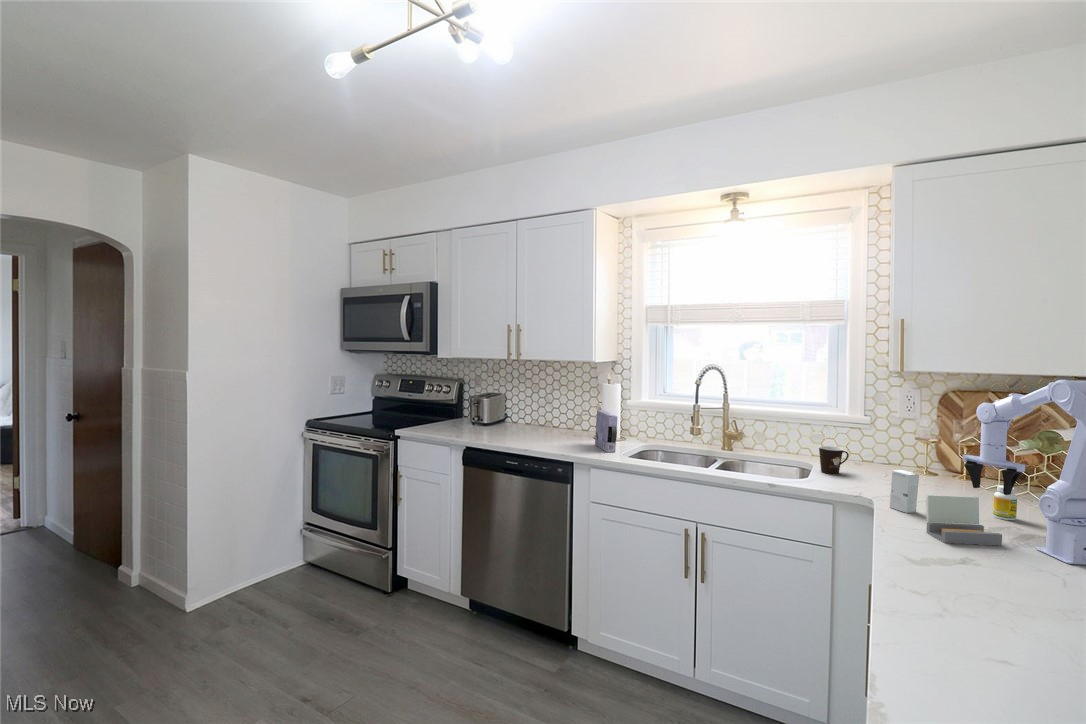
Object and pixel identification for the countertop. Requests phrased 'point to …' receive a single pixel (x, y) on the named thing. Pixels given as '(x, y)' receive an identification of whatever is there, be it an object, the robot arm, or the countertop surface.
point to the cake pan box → (606, 431)
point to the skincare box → (904, 491)
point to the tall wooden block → (962, 530)
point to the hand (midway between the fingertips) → (991, 491)
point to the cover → (952, 509)
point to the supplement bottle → (1005, 504)
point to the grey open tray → (963, 534)
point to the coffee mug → (831, 459)
